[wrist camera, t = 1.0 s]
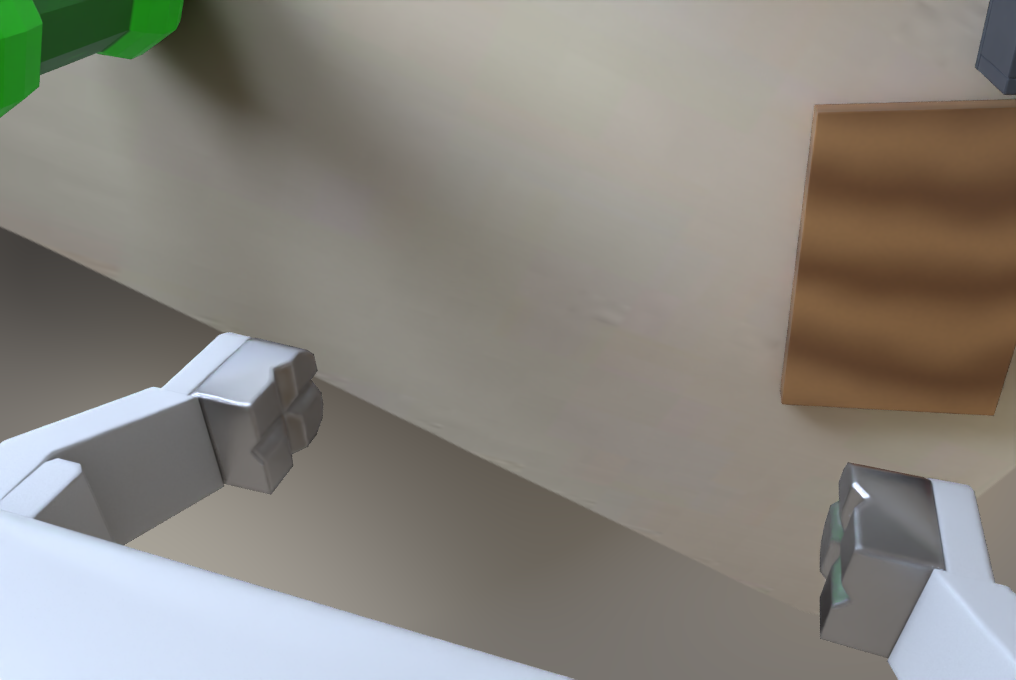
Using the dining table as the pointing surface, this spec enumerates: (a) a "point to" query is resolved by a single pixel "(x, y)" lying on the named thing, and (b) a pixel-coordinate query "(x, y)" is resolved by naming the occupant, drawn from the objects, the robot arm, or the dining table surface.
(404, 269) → the dining table surface
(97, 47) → the plastic bottle
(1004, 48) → the tub
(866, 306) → the cutting board
